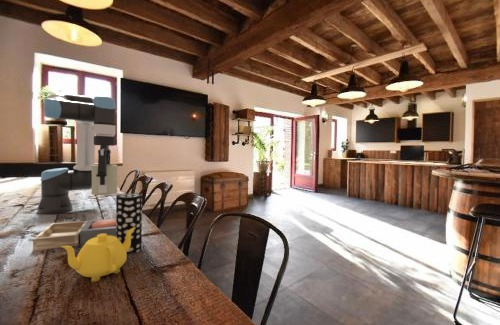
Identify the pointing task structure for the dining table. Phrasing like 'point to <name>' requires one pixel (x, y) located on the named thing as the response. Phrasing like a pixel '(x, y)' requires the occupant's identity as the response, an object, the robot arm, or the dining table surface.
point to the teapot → (100, 256)
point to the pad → (104, 224)
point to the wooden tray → (59, 235)
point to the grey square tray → (95, 231)
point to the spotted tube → (129, 219)
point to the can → (111, 180)
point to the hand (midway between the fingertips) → (104, 190)
